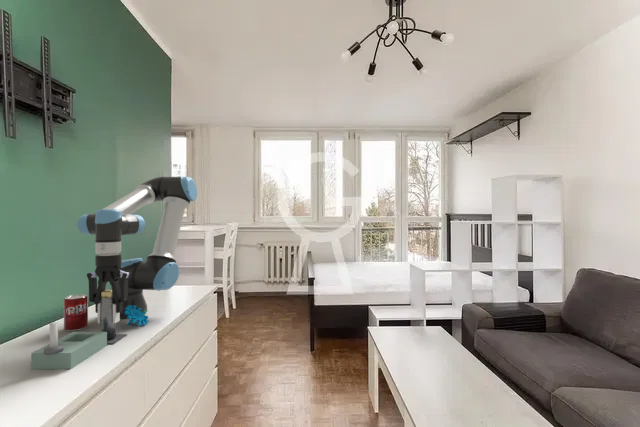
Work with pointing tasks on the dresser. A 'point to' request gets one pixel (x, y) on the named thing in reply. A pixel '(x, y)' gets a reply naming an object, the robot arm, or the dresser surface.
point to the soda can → (75, 312)
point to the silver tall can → (107, 313)
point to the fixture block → (67, 349)
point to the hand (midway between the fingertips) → (108, 321)
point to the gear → (136, 315)
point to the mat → (116, 338)
